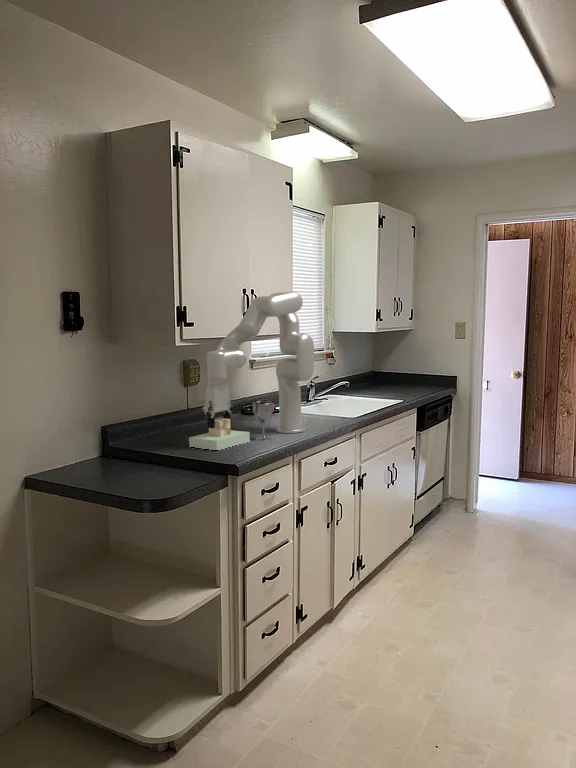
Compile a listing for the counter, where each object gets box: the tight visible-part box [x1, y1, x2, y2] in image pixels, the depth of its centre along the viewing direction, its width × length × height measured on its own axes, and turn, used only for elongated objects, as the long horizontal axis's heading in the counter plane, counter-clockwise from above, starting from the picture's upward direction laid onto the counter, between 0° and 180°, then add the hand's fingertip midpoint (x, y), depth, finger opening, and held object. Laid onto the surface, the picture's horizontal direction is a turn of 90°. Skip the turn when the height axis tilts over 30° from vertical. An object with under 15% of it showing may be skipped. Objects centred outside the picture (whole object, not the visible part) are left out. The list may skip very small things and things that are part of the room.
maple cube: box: [208, 417, 232, 437], centre depth 245 cm, size 6×6×6 cm
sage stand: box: [188, 429, 251, 451], centre depth 246 cm, size 20×14×4 cm
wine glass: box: [252, 400, 273, 441], centre depth 255 cm, size 8×8×15 cm
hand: (219, 426), depth 245 cm, fingers open, 9 cm apart
